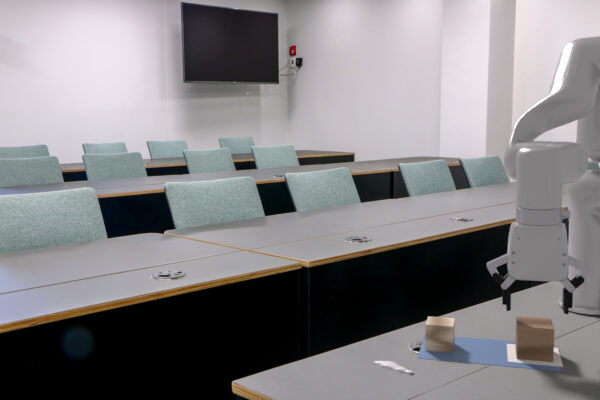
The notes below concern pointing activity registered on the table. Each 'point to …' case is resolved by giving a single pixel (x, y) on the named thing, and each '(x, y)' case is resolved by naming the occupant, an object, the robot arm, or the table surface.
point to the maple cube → (440, 334)
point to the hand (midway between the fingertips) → (536, 310)
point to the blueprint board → (489, 354)
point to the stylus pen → (393, 366)
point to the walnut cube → (534, 339)
